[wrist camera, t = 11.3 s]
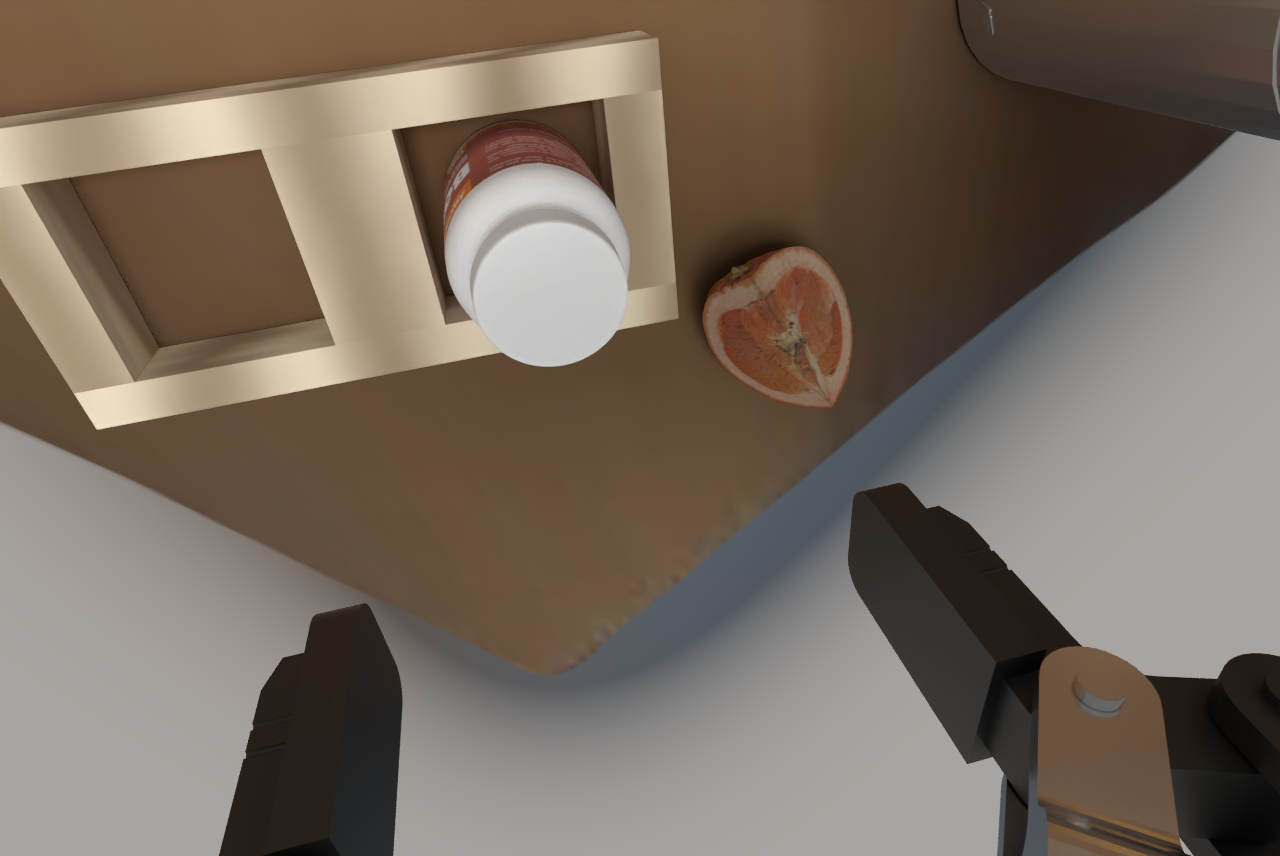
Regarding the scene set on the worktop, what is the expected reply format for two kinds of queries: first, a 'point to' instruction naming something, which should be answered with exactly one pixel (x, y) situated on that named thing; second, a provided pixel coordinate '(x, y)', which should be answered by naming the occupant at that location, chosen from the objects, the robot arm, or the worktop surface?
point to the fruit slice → (783, 327)
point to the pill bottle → (534, 245)
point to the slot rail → (314, 217)
